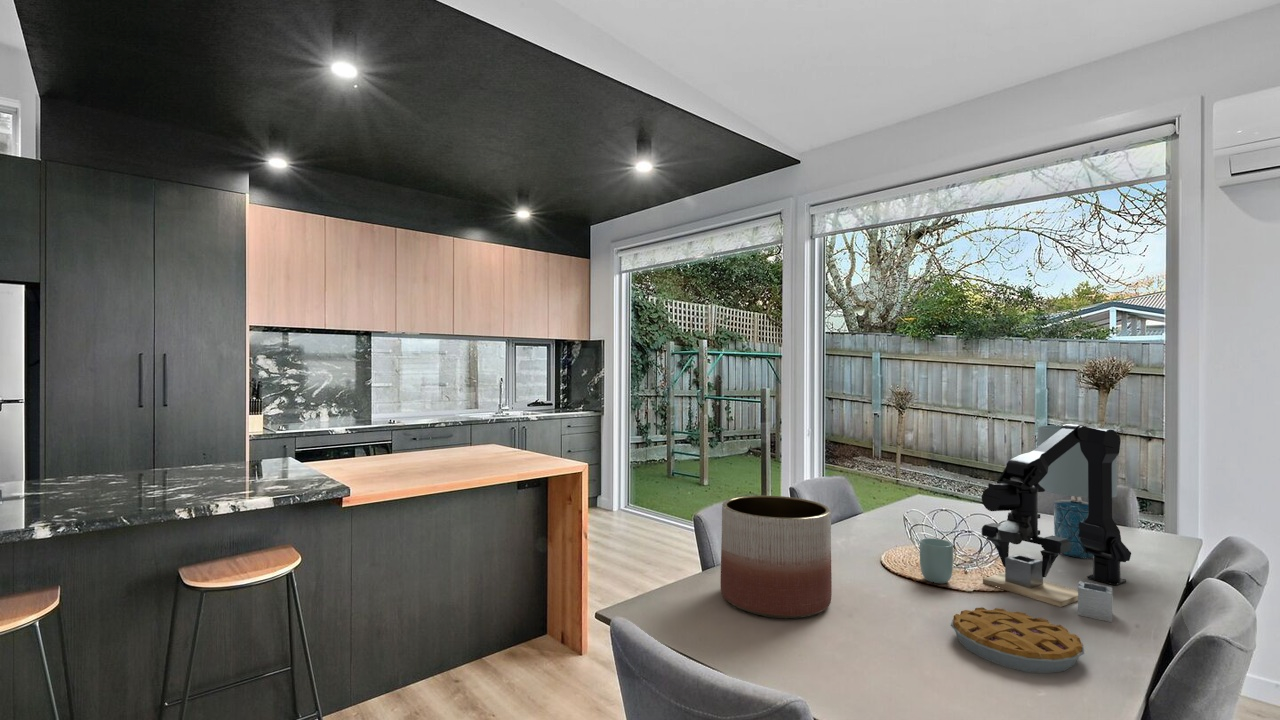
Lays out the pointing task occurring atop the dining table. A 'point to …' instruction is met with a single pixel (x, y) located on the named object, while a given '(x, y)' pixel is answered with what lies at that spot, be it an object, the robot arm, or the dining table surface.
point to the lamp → (1070, 491)
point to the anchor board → (1037, 590)
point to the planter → (776, 555)
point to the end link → (1023, 571)
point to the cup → (936, 559)
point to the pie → (1017, 640)
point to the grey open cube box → (1095, 601)
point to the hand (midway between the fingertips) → (1024, 571)
